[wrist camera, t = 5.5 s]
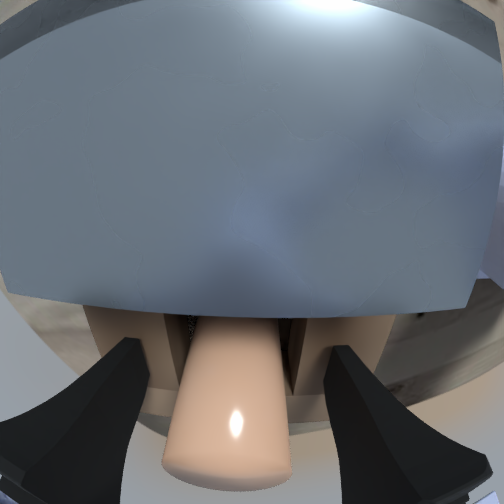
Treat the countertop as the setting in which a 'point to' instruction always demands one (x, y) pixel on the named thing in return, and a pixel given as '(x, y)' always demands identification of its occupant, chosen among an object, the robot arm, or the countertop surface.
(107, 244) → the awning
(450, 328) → the countertop surface
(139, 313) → the socket block
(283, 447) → the peg
